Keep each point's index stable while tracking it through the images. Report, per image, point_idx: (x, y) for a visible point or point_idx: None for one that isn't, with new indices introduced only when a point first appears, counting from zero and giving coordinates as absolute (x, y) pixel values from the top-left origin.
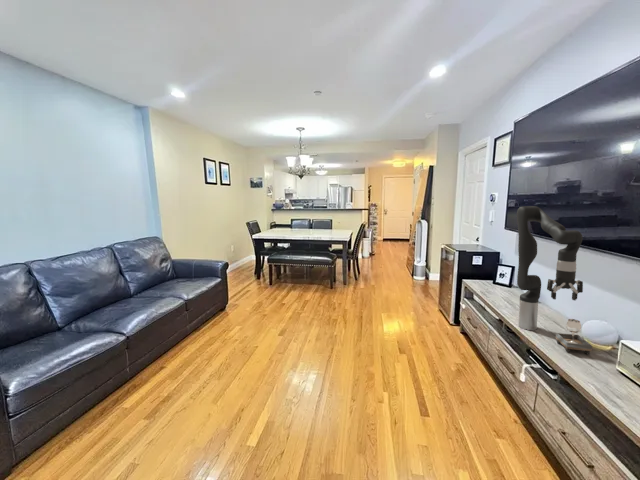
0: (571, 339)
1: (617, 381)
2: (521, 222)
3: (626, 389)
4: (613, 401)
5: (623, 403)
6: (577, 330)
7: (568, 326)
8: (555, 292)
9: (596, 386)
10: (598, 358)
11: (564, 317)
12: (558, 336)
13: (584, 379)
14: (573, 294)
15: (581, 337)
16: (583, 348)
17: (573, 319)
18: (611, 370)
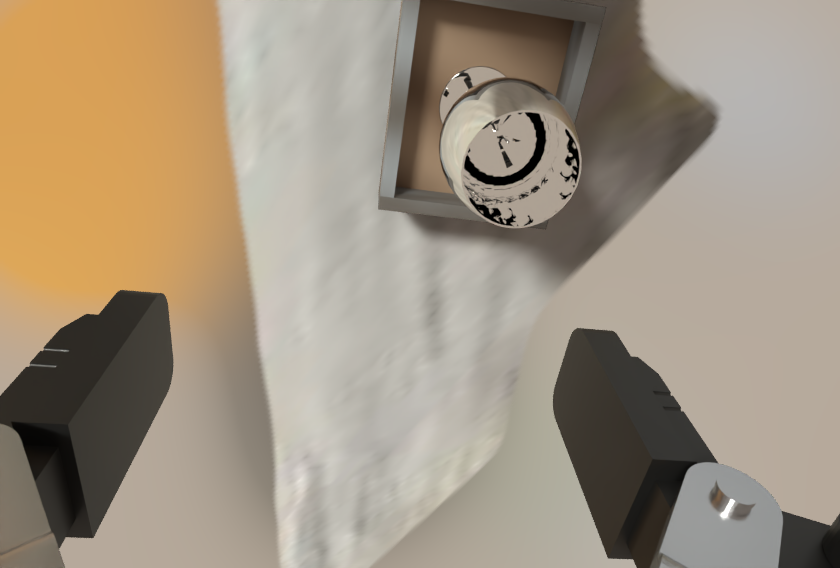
0: (512, 41)
1: (448, 435)
2: None
3: (437, 480)
4: (322, 548)
5: (351, 552)
6: (497, 204)
7: (441, 166)
8: (85, 498)
9: (322, 479)
10: None
11: None
12: (398, 39)
13: (302, 440)
14: (611, 476)
15: (587, 73)
16: None
17: (553, 117)
18: (503, 351)
